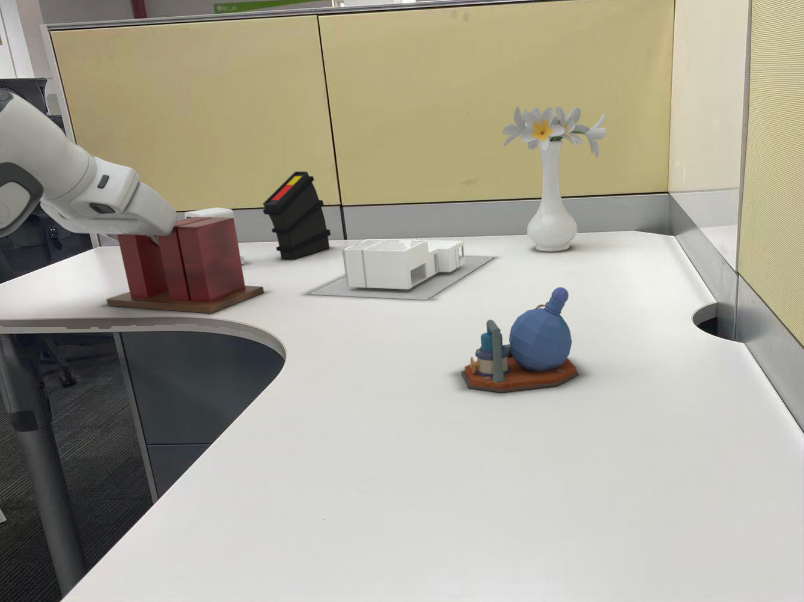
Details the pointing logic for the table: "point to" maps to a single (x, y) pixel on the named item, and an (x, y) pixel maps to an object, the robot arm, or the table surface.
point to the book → (142, 266)
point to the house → (401, 268)
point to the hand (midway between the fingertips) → (146, 243)
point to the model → (525, 351)
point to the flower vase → (552, 169)
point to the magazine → (297, 217)
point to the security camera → (213, 213)
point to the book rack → (198, 269)
